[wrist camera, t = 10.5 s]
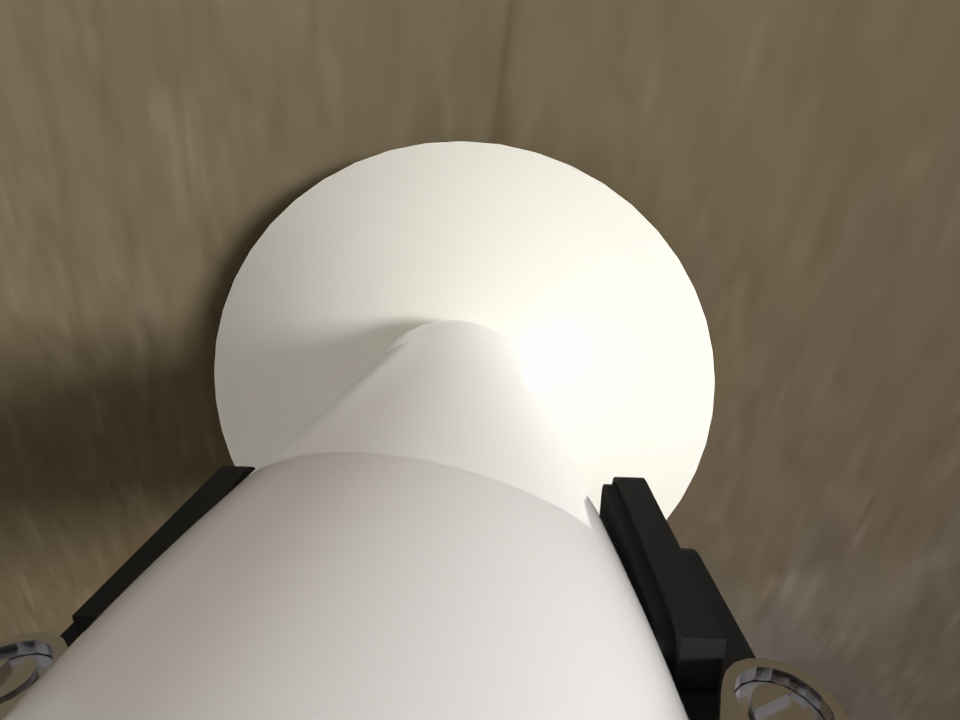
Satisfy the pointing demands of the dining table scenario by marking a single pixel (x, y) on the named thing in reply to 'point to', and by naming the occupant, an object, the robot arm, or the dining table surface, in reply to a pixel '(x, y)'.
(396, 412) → the white cup
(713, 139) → the dining table surface
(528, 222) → the cream dish
